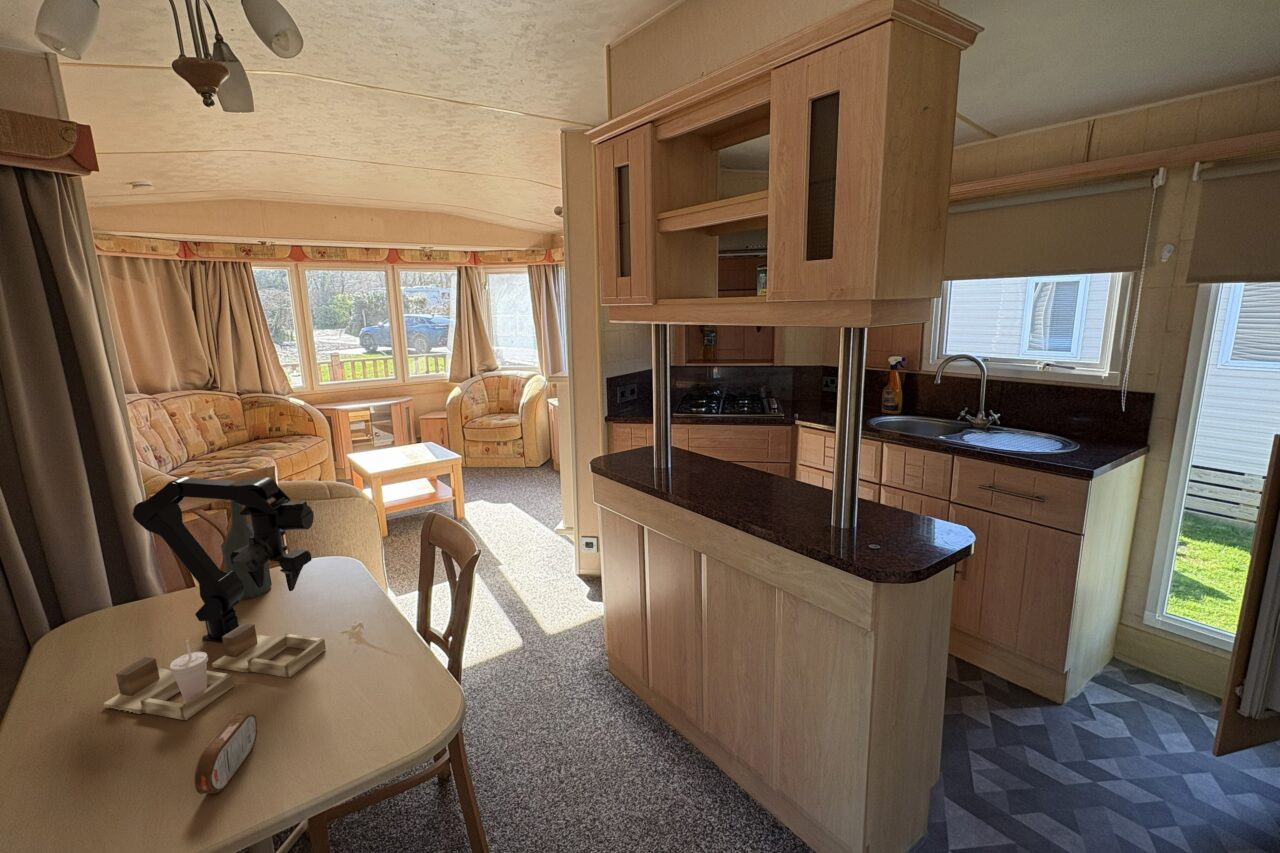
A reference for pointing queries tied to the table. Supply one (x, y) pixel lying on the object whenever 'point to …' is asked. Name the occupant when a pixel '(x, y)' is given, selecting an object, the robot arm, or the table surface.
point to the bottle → (235, 541)
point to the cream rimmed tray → (162, 691)
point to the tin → (225, 753)
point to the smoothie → (190, 673)
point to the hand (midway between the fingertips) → (276, 588)
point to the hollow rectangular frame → (265, 651)
